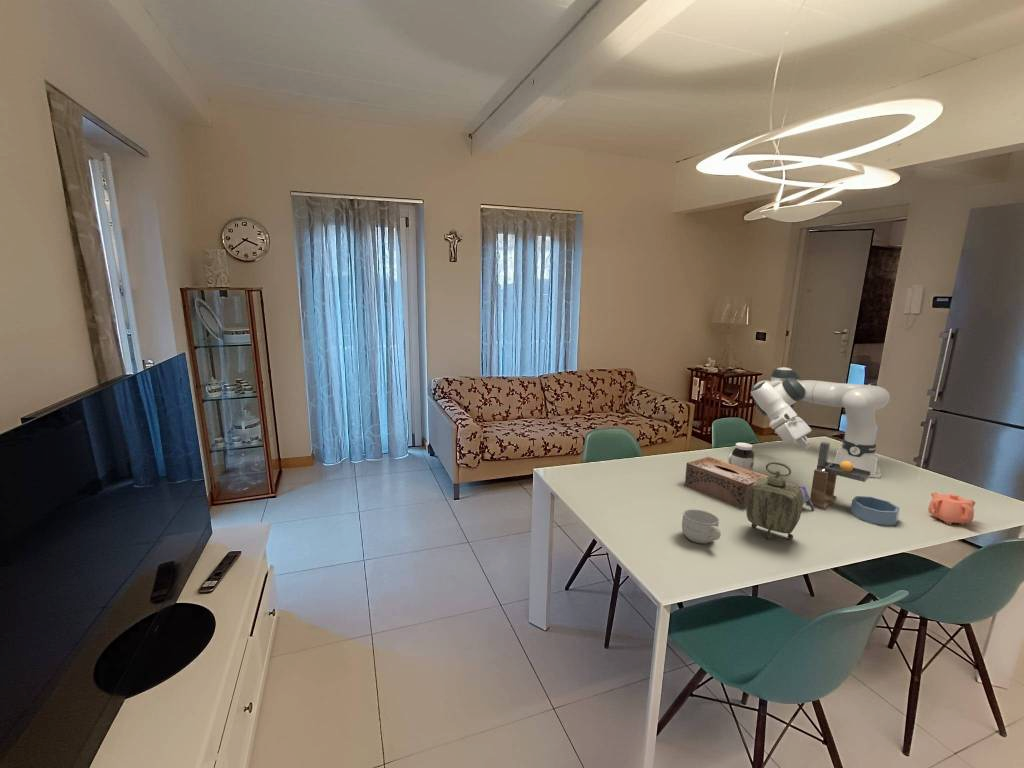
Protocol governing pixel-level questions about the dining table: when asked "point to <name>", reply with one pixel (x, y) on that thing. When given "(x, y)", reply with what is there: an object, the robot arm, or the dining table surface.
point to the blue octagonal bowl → (875, 510)
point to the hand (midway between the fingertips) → (809, 447)
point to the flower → (806, 498)
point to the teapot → (951, 508)
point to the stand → (823, 489)
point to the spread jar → (742, 456)
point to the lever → (838, 466)
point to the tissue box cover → (721, 480)
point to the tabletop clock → (774, 503)
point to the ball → (846, 466)
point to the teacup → (700, 526)
